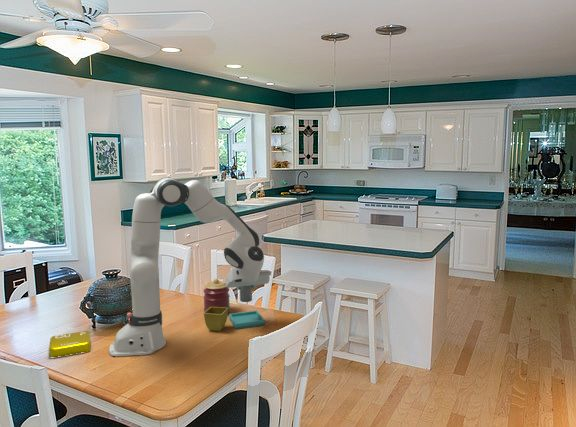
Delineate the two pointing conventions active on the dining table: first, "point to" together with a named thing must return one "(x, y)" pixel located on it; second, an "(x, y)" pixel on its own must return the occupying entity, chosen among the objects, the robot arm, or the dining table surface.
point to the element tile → (69, 344)
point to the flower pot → (215, 318)
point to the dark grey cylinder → (246, 293)
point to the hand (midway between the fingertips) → (245, 287)
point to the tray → (246, 319)
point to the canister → (216, 295)
